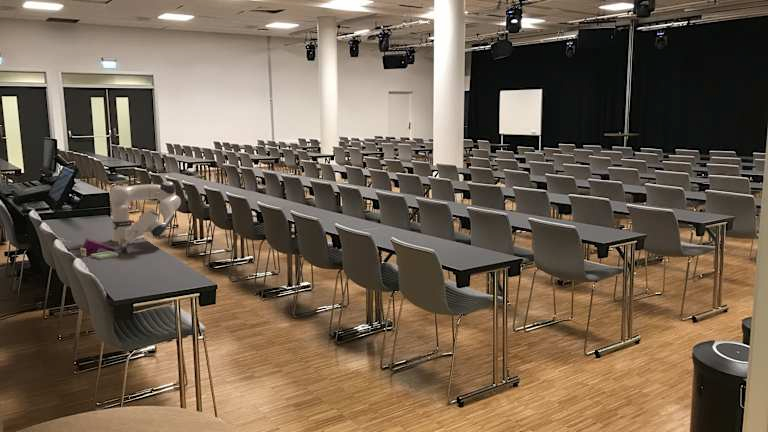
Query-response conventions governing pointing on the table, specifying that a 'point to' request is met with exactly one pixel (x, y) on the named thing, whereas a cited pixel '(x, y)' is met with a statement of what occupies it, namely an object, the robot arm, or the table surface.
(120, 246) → the gold metallic cylinder
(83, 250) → the label tile
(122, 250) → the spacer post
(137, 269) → the table surface
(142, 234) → the robot arm
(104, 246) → the mounting bracket
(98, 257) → the parts tray
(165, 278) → the table surface
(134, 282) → the table surface
